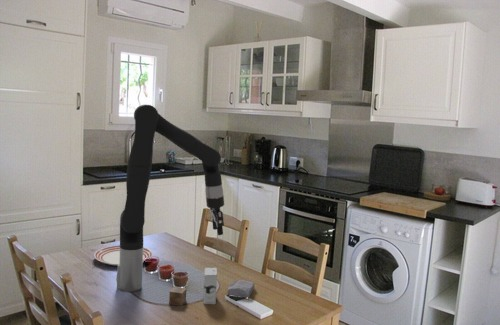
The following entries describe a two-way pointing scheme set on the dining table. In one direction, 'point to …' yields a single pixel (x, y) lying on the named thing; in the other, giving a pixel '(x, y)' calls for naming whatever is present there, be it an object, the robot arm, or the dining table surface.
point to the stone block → (241, 288)
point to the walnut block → (177, 296)
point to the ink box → (210, 286)
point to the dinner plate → (116, 255)
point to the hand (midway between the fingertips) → (218, 232)
